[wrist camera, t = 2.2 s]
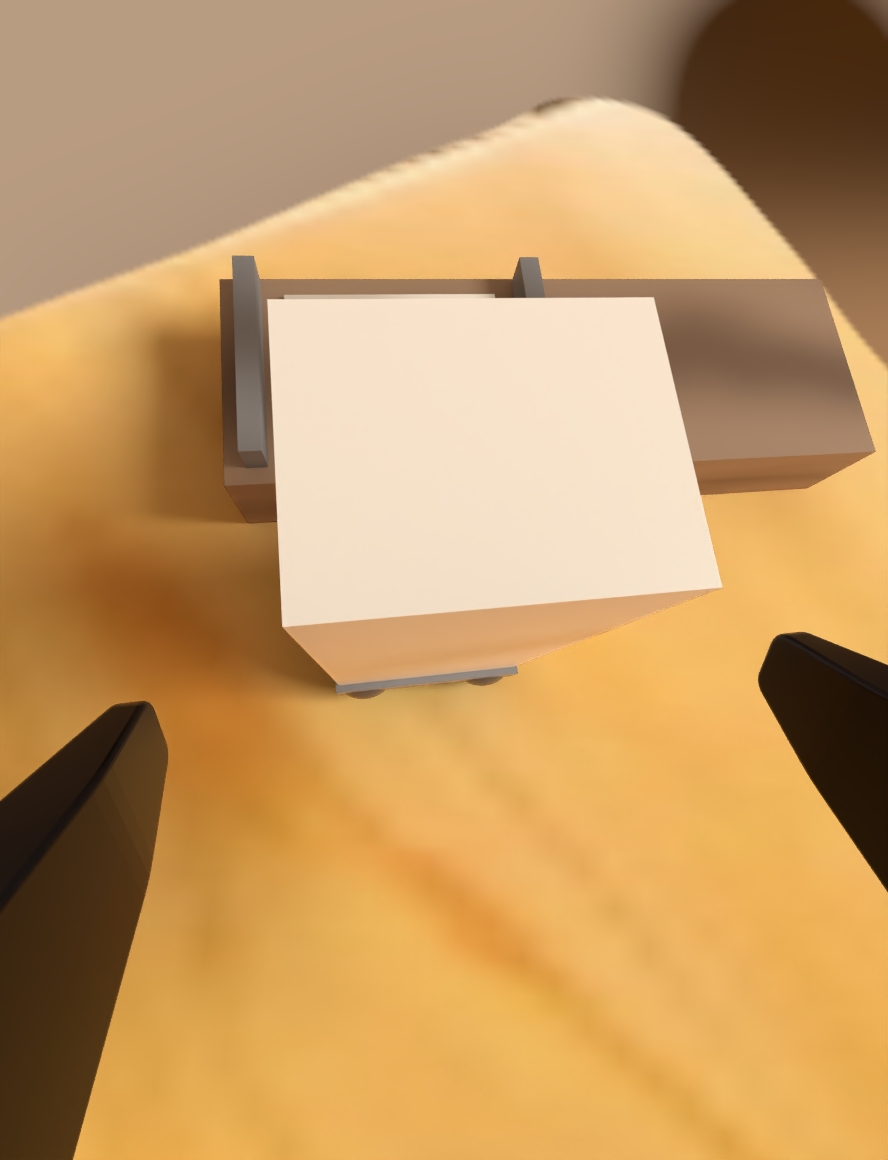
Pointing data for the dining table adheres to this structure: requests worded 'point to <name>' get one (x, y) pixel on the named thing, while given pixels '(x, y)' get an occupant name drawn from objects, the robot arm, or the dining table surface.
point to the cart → (476, 482)
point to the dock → (695, 352)
